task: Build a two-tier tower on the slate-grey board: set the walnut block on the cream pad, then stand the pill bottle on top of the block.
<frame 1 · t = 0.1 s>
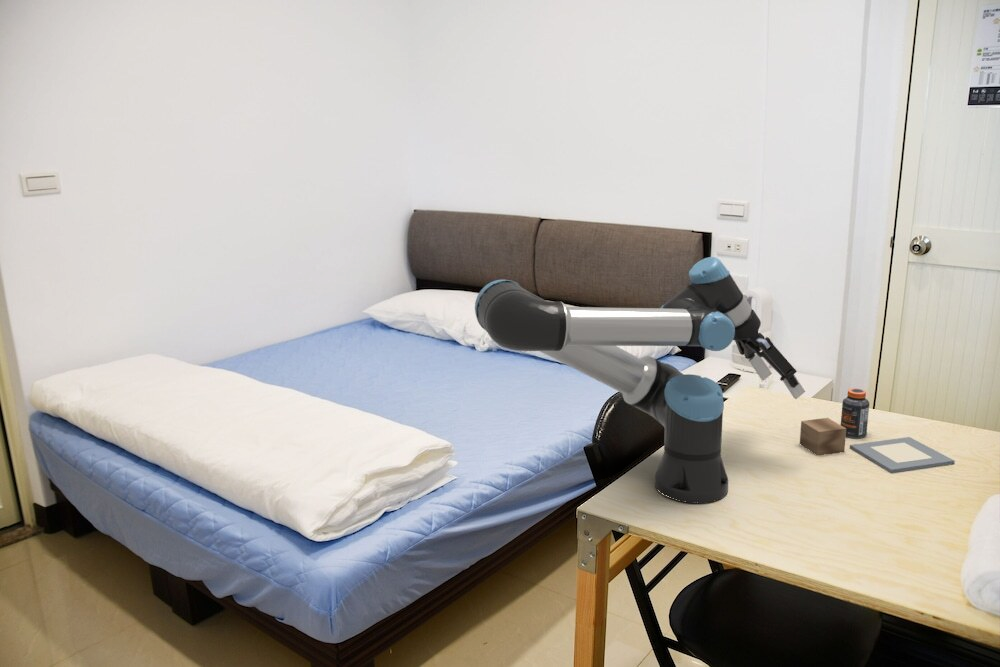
hand: (782, 385, 180), 15 cm above the table, tool tilted 35°, fingers open, 13 cm apart
pill bottle: (853, 434, 190), on the table
board: (900, 455, 177), on the table
walnut block: (821, 448, 183), on the table
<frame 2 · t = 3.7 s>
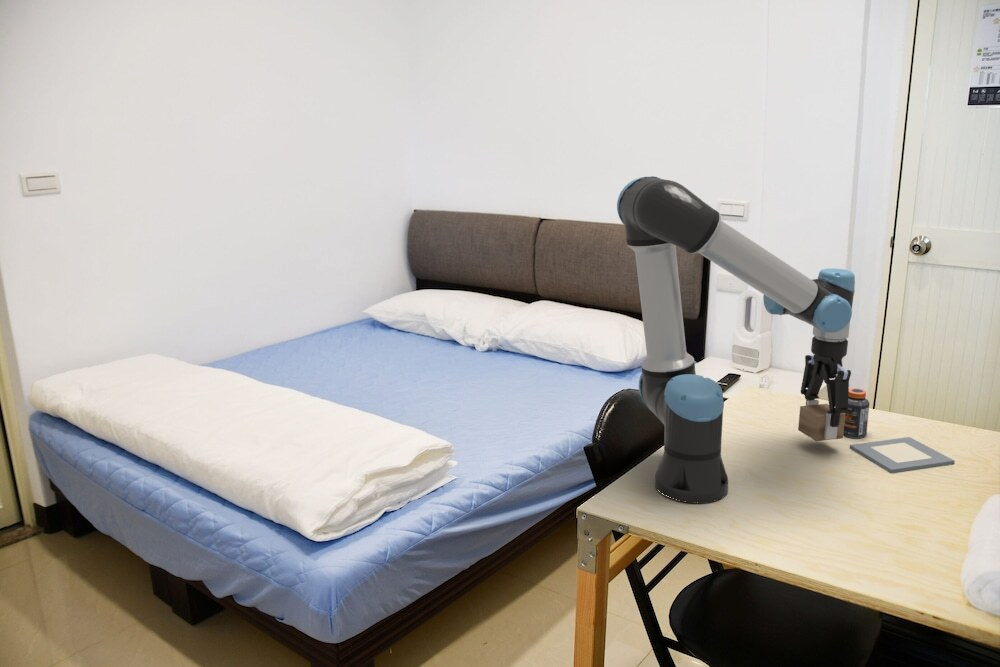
hand: (819, 432, 182), 4 cm above the table, tool pointing down, fingers closed on walnut block, 7 cm apart
walnut block: (820, 434, 182), point 4 cm above the table, touching gripper
everything else where it was.
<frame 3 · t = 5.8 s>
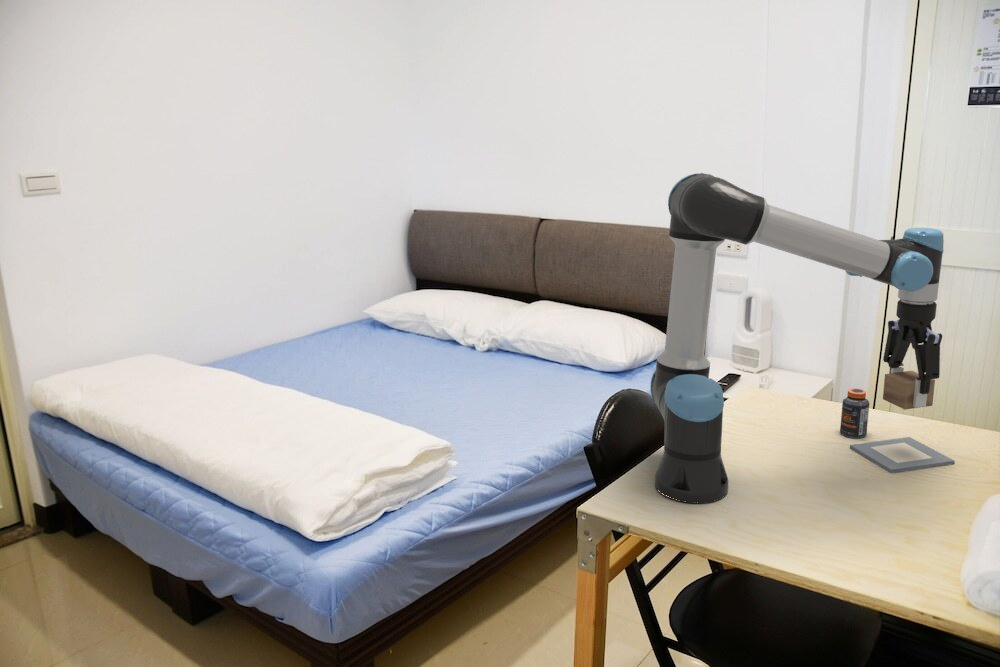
hand: (906, 400, 174), 13 cm above the table, tool pointing down, fingers closed on walnut block, 7 cm apart
walnut block: (907, 402, 174), point 13 cm above the table, touching gripper
everything else where it was.
when the fingers open (1 cm above the table, at t = 8.2 s): walnut block stays where it is, resting on board.
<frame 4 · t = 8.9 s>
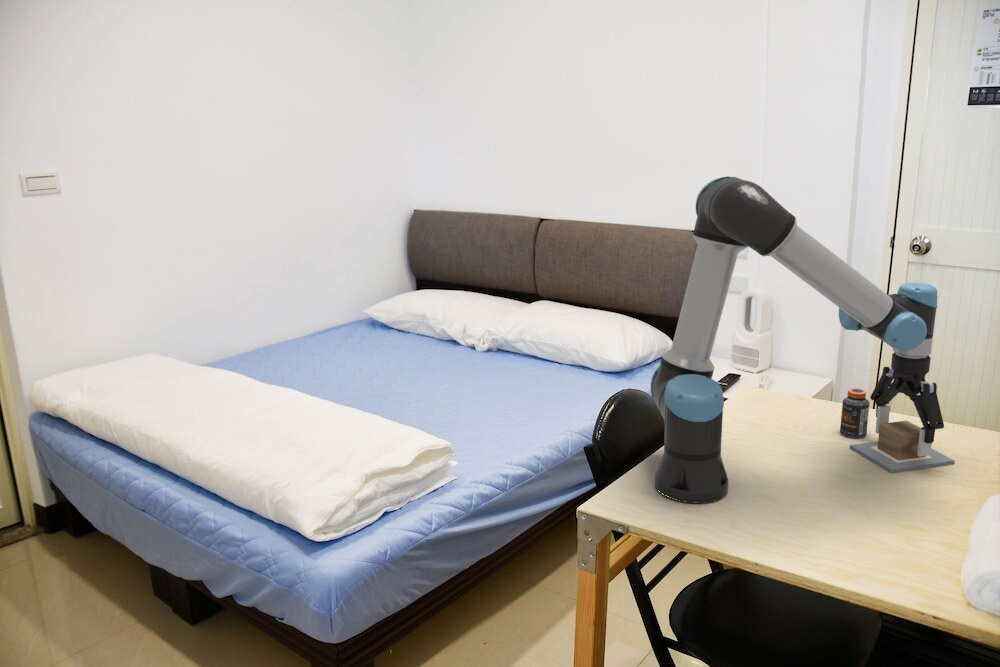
hand: (901, 443, 176), 3 cm above the table, tool pointing down, fingers open, 13 cm apart
walnut block: (901, 452, 177), point 1 cm above the table, touching board
everything else where it was.
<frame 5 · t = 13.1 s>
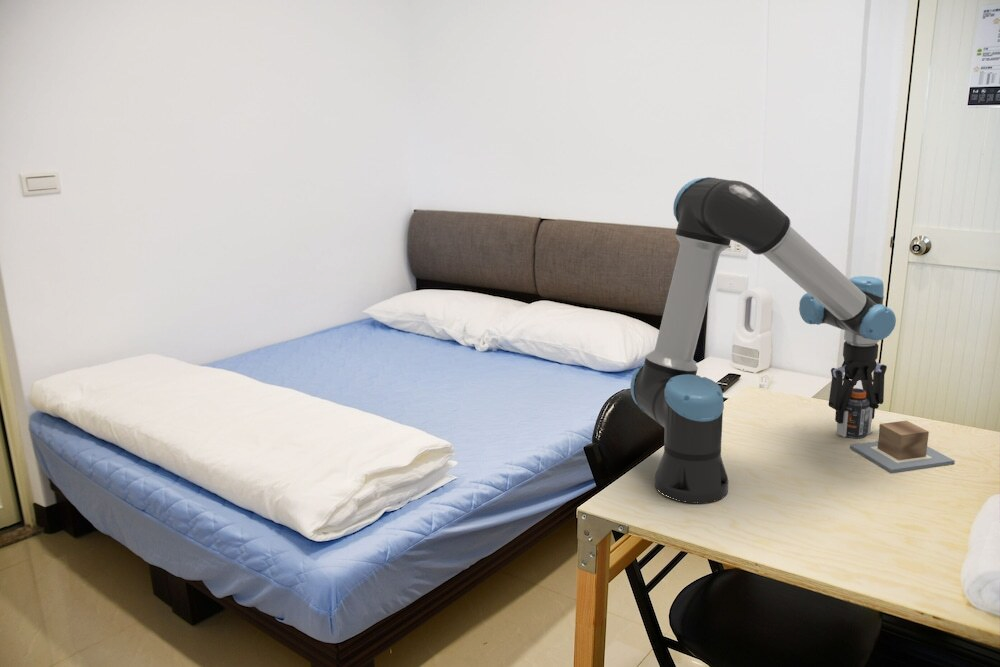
hand: (853, 433, 190), 0 cm above the table, tool pointing down, fingers closed on pill bottle, 6 cm apart
pill bottle: (853, 434, 190), on the table, touching gripper
everything else where it was.
when the fingers open (8 cm above the table, at t = 18.9 s): pill bottle stays where it is, resting on walnut block.
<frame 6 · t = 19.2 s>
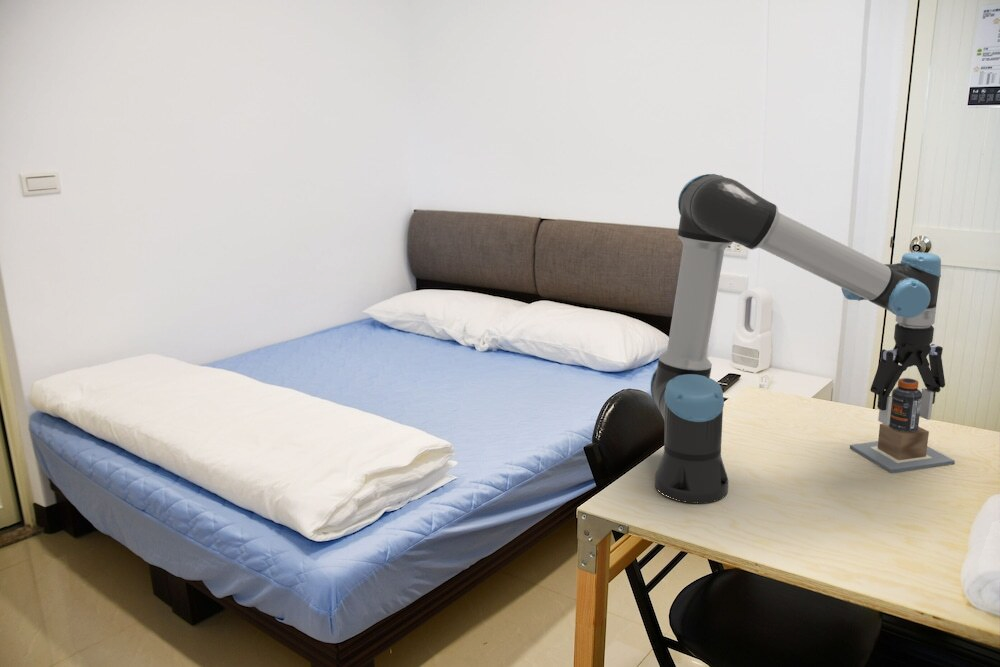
hand: (904, 420, 175), 9 cm above the table, tool pointing down, fingers open, 10 cm apart
pill bottle: (903, 428, 175), point 7 cm above the table, touching walnut block
walnut block: (901, 452, 177), point 1 cm above the table, touching board, pill bottle
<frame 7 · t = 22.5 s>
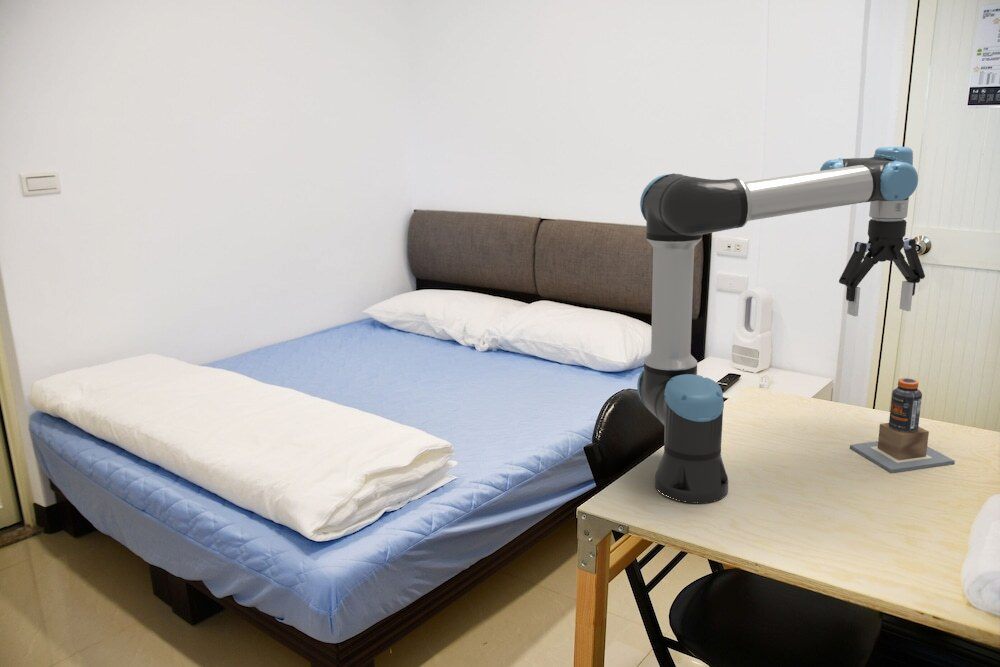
hand: (878, 312, 177), 32 cm above the table, tool pointing down, fingers open, 13 cm apart
nothing on the table moved.
at the end: walnut block inside the target area on the board (0.1 cm from its centre), point 0.8 cm above the board's base; pill bottle 0.2 cm from the walnut block (horizontally); pill bottle point 6.6 cm above the table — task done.
